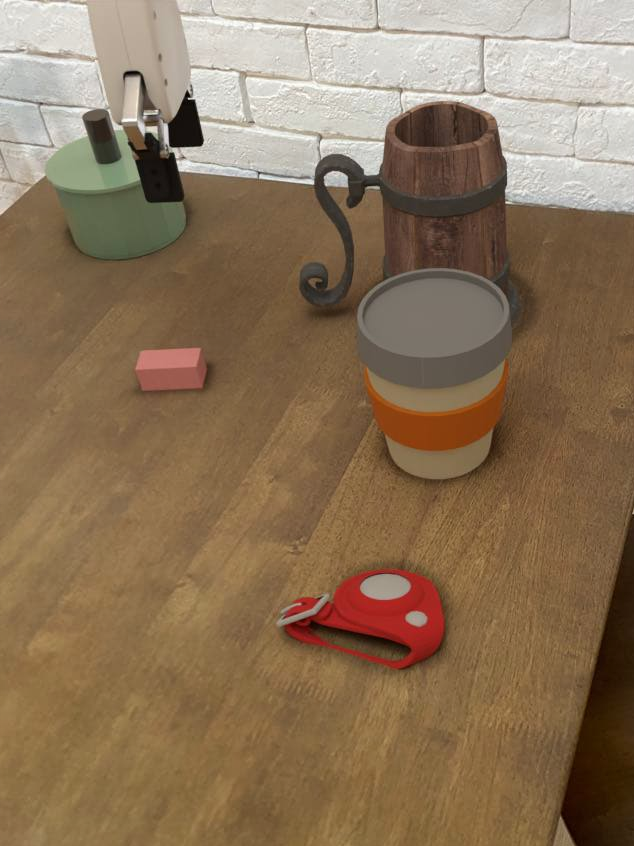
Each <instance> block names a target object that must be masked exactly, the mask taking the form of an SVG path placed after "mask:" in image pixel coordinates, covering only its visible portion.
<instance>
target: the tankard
mask: <svg viewBox="0 0 634 846" xmlns="http://www.w3.org/2000/svg"><path fill="white" fill-rule="evenodd" d="M498 125H499V124H498V122H497V120H496V117H495V116H494V115H493V114H492V113H490V112H488V111H486V110H483V109H479V108H477V107H474V106H472V105H470V104H467V103H464V102H461V101H454V100H438V101H430V102H425V103H421V104H417V105H416V106H413V107H411V108H410V109H407V110H406V111H405V112H403V113H402V114H399V115H398V116H396V117H394V118H393V119H391V120H390V121H389V122H388V123H387V125H386V126H385V127H386V128H385V133H384V144H383V153H382V162H381V164H380V166H379V170H378V173H377V174H370V175H367V174H365V169H364V168H363V167H362V166H361V165H360V164H359V163H358V162H357V161H356V160H355V159H353V158H352V157H350V156H348V155H345V154H342V153H331V154H328V155H326V156H324V157H322V158H321V159H320V160H319V161H318V163H317V165H316V167H315V168H314V178H313V189H314V193H315V197H316V199H317V201H318V204H319V205H320V208H321V209H322V210H323V212H324V213H325V214H326V216H327V217H328V218H329V220H330V222H332V224H333V225H334V226H335V228H336V230H337V232H338V234H339V236H340V238H341V241H342V244H343V249H344V254H345V264H344V270H343V272H342V275H341V279H340V280H339V282H338V283H337V284H336V285H335V286H334V287H332V288H330V289H327V288H328V285H329V272H328V269H327V268H326V266H325V265H324V264H323V263H321V262H318V261H313V262H312V261H311V262H308V263H306V264H304V265H303V266H302V268H301V269H300V271H299V282H298V286H299V287H298V289H299V292H300V294H301V296H302V298H304V300H305V301H306V302H307V303H309V304H310V305H312V306H314V307H316V308H322V309H325V308H332V307H334V306H336V305H339V304H340V303H341V302H342V301H343V300H344V299H345V298H346V297H347V295H348V293H349V291H350V288H351V286H352V283H353V282H352V281H353V276H354V271H355V270H354V269H355V268H354V267H355V245H354V238H353V237H354V236H353V233H352V230H351V226H350V224H349V221H348V219H347V217H346V215H345V213H344V211H343V210H342V209H341V208H340V206H339V205H338V203H337V202H336V201H335V199H334V198H333V197H332V195H331V194H330V192H329V190H328V188H327V186H326V183H325V180H324V179H325V176H327V175H328V174H329V173H332V172H338V173H342V174H344V175H345V176H346V177H347V188H348V195H347V197H346V199H345V205H346V207H347V208H348V209H349V210H352V209H354V208H356V207H357V206H358V205H359V204H360V203H362V200H363V198H364V195H365V194H366V189H367V188H369V187H370V188H371V187H378V188H379V192H380V195H381V196H382V217H383V219H382V220H383V237H384V238H383V240H384V255H383V258H382V279H383V281H385V280H387V279H389V278H391V277H394V276H396V275H399V274H402V273H406V272H410V271H414V270H421V269H429V268H447V269H457V270H462V271H467V272H471V273H474V274H477V275H479V276H482V277H484V278H486V279H488V280H489V281H491V282H493V283H494V284H495V285H496V286H498V287H499V288H500V289H501V291H502V292H503V293H504V294H505V296H506V298H507V301H508V303H509V311H510V320H511V329H512V328H513V327H514V325H515V324H516V323H517V322H518V320H519V318H520V315H521V313H522V300H521V297H520V295H519V292H518V291H517V288H516V286H515V285H514V283H513V282H512V281H511V279H510V277H511V254H510V252H509V251H510V250H509V248H508V247H507V246H508V245H507V214H506V213H507V210H506V208H507V207H506V205H507V204H506V189H507V186H508V162H507V160H506V158H505V156H504V154H503V149H502V144H501V143H502V142H501V137H500V131H499V126H498ZM312 279H317V280H318V281H315V283H314V284H315V286H313V285H312V284H311V283H310V280H312ZM319 280H320V281H319Z"/></svg>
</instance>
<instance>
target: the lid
mask: <svg viewBox="0 0 634 846" xmlns="http://www.w3.org/2000/svg"><path fill="white" fill-rule="evenodd" d="M81 120H82V122H83V126H84V129H85V132H86V134H87V135H86V136H83V137H80V138H78V139H76V140H73V141H71V142H69V143H67V144H66V145H64V146H62V147H61V148H59V149H58V150H56V151H55V152H54V153H53V154H52V155H50V157H49V158H48V160H47V161H46V163H45V167H44V173H45V177H46V179H47V181H48V182H49V183H50V184H51V185H52V186H53V187H54V188H55V187H56V188H58V189H61V190H64V191H67V192H71V193H79V194H99V193H108V192H114V191H119V190H123V189H127V188H130V187H133V186H136V185H139V184H141V181H140V177H139V174H138V170H137V166H136V163H135V160H134V159H133V156H132V152H131V148H130V146H129V145H128V142H129V140H128V139H127V138H128V137H127V135H126V133H125V131H124V129H115V128H114V124H113V120H112V117H111V113H110V111H108V109H105V108H96V109H91V110H87V111H86V112H85V113H83V115H82V116H81ZM146 132H147V133H152V134H153V135H154V137H155V138H156V139H157V140H158V132H157V133H156V132H154V131H150V130H146ZM169 152H174V148H171V147H170V146H169Z"/></svg>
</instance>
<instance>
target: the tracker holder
mask: <svg viewBox="0 0 634 846" xmlns="http://www.w3.org/2000/svg"><path fill="white" fill-rule="evenodd" d="M330 599H331V595H330V593H328V592H327V593H325V594H321V595H319V596H317V597H312V596H302V597H299V598H298V599H296V600H294V601H293V602H292V604H291V605H288V606H285V607H284V608H282V609H281V610H280V614H282V615H281V617H280V618H279V619H278V620H277V621H276V623H275V625H276V627H277V628H281V627H284V629H285V630H286V632H287V633H288V634H289V635H290V637H291V636H292V638H294V639H295V640H297V641H299V642H301V643H305V644H309V645H315V646H319V647H320V646H321V647H326V648H330V649H334V650H337V651H340V652H343V653H346V654H349V655H352V656H356V657H357V658H361V659H364V660H368V661H370V662H374V663H377V664H380V665H384V666H386V667H389V668H391V669H394V670H401V669H404V668H407V667H409V666H413V665H414V664H417V663H419V662H421V661H423V660H426V659H427V658H429V657H431V656H433V654H435V652H436V651H437V650H438V649H439V647H440V645H441V643H442V640H443V638H444V633H445V617H444V611H443V606H442V602H441V598H440V595H439V592H438V590H437V588H436V587H435V585H434V583H433V582H432V581H431V580H429V578H427V577H425V576H423V575H421V574H418V573H415V572H412V571H407V570H404V569H403V570H402V569H386V568H385V569H384V568H383V569H373V570H370V571H364V572H361V573H358V574H356V575H353V576H351V577H349V578H348V579H346V580H345V581H344V582H341V583H340V585H339V586H338V587H337V589H336V590H335V592H334V595H333V601H332V602H330ZM312 621H313V622H315V623H317V624H320V625H322V626H325V627H330V628H335V629H339V630H344V631H349V632H354V633H359V634H363V635H368V636H373V637H377V638H383V639H387V640H390V641H393V642H396V643H398V644H401V645H404V646H406V647H407V648H409V649H410V652H409V654H408V655H407V656H406V657H405V658H402V659H396V660H392V659H391V660H389V659H386V658H382V657H378V656H375V655H372V654H367V653H364V652H360V651H356V650H353V649H349V648H345V647H342V646H338V645H334V644H331V643H330V642H327V641H325V640H324V639H323V638H321V637H320V635H318V634H317V633H316V632H315V631H314V630H313V628H311V627H310V626H309V625H310V624H311V622H312ZM312 632H314V634H311V633H312Z"/></svg>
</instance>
